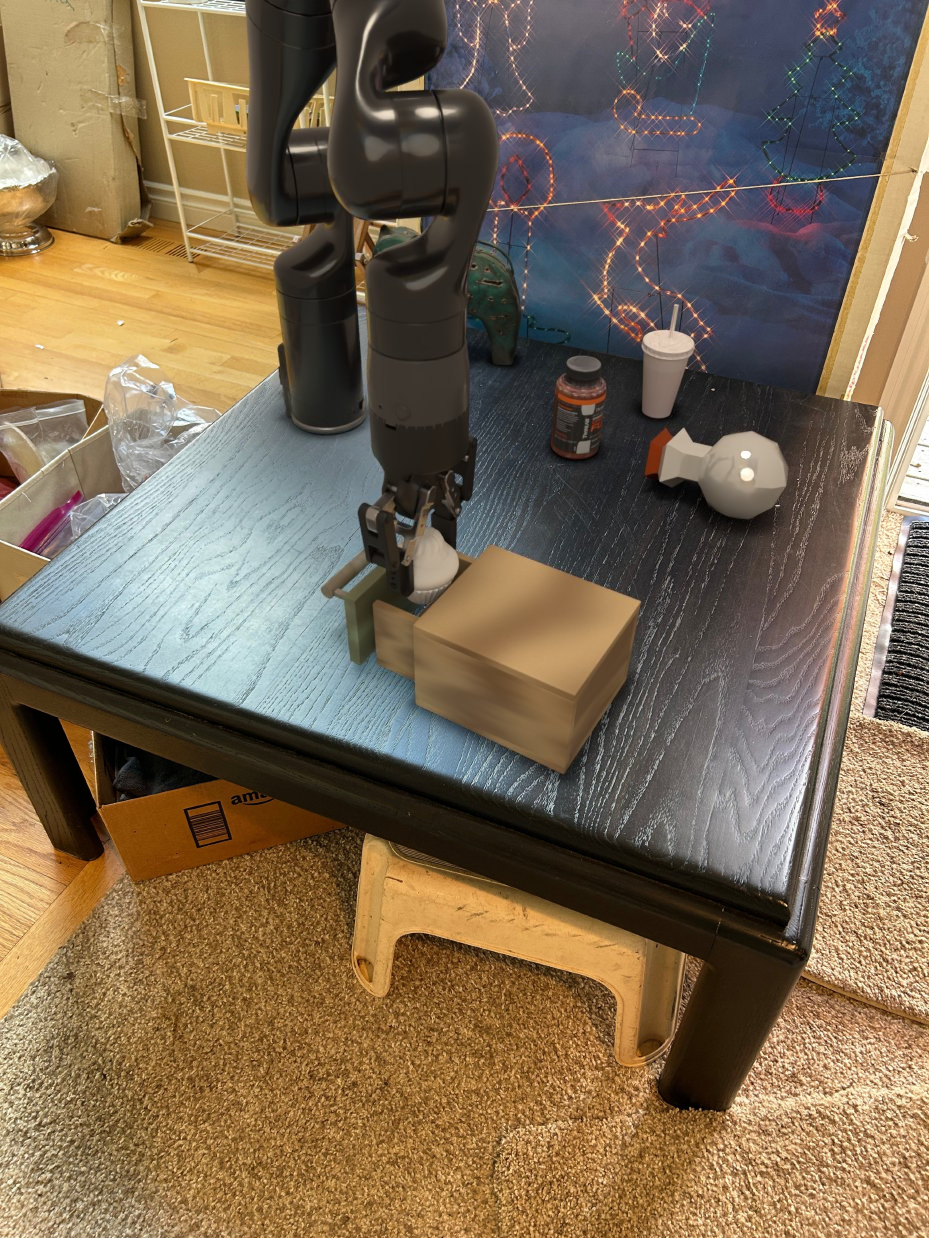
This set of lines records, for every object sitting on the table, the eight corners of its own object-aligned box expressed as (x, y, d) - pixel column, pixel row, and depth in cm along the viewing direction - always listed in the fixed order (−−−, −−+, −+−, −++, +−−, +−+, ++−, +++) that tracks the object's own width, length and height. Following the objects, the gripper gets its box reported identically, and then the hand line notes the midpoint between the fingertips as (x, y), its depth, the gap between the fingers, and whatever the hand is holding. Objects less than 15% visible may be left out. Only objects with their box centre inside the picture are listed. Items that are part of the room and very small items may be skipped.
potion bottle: (773, 543, 99) (649, 509, 107) (806, 465, 101) (681, 437, 108) (763, 508, 91) (630, 474, 99) (799, 424, 93) (665, 397, 100)
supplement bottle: (596, 464, 108) (607, 378, 100) (546, 458, 109) (554, 372, 101) (600, 438, 112) (611, 354, 105) (553, 433, 113) (560, 348, 105)
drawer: (310, 642, 84) (301, 578, 78) (381, 575, 91) (377, 512, 86) (477, 720, 77) (479, 656, 72) (539, 641, 84) (546, 577, 79)
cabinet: (415, 704, 79) (412, 624, 73) (487, 621, 87) (490, 543, 81) (563, 774, 74) (574, 695, 67) (626, 680, 82) (641, 600, 75)
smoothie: (688, 407, 118) (709, 303, 109) (669, 428, 114) (689, 323, 105) (643, 394, 121) (660, 291, 111) (623, 414, 117) (639, 310, 107)
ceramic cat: (376, 359, 127) (367, 211, 114) (386, 339, 132) (379, 195, 118) (515, 371, 125) (524, 222, 111) (521, 351, 130) (530, 205, 116)
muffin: (377, 605, 79) (373, 541, 74) (406, 564, 83) (404, 501, 78) (442, 623, 77) (442, 560, 72) (469, 581, 81) (470, 518, 76)
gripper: (429, 346, 73) (431, 515, 84) (318, 424, 64) (337, 602, 75) (510, 370, 70) (501, 541, 81) (406, 455, 61) (413, 635, 72)
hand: (422, 569), depth 78 cm, fingers closed on muffin, 6 cm apart
